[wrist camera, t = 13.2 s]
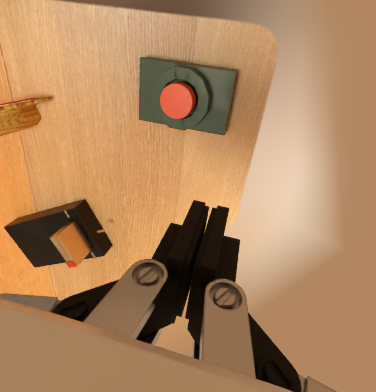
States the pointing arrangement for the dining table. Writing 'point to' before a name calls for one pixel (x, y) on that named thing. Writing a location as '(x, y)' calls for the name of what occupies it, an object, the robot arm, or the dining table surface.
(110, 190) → the dining table surface
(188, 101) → the button
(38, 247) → the dial panel
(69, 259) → the tan block
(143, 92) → the button block
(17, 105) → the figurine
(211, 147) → the dining table surface
